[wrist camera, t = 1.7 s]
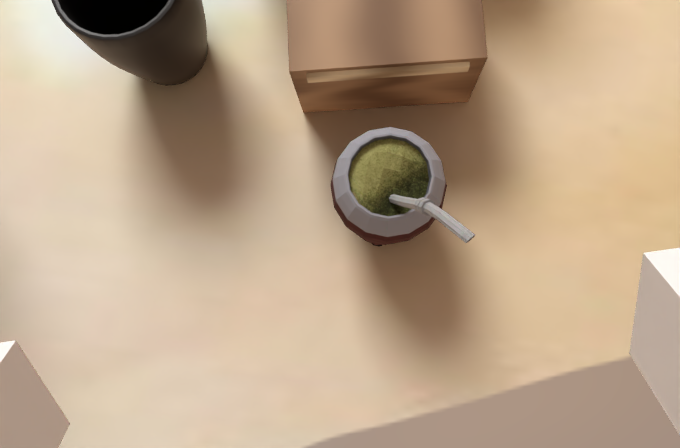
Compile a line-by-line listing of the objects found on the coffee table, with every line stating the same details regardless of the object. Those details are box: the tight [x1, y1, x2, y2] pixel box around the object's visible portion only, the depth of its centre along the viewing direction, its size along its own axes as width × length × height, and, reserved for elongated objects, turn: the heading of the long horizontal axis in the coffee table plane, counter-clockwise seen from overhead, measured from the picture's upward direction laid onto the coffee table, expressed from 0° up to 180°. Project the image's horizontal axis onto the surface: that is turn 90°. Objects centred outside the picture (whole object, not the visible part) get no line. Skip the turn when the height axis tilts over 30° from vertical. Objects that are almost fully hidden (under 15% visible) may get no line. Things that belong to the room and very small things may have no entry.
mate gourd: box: [331, 127, 475, 246], centre depth 32 cm, size 8×8×15 cm
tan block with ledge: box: [287, 0, 487, 113], centre depth 38 cm, size 12×6×7 cm, turn 93°
